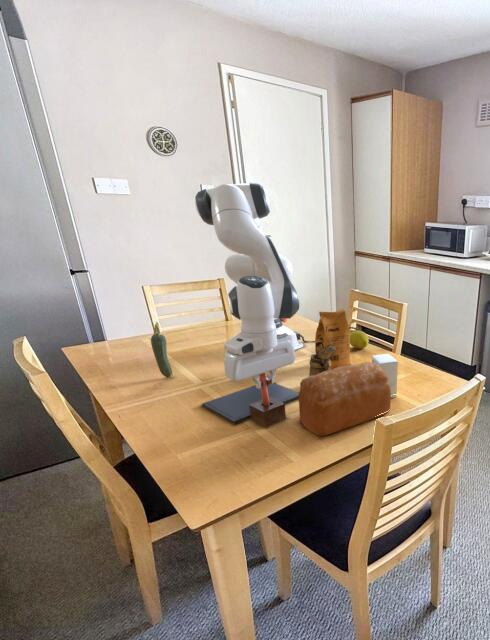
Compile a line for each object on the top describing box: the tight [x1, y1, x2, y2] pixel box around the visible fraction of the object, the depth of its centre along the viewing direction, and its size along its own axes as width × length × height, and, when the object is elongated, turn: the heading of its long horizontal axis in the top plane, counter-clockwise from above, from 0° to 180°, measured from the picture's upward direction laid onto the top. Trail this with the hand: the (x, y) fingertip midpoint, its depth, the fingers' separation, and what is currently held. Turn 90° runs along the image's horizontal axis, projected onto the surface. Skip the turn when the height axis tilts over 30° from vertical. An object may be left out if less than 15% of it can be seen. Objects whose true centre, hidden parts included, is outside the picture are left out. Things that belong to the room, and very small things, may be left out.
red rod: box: [258, 372, 270, 407], centre depth 116 cm, size 2×2×14 cm
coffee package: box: [314, 308, 351, 370], centre depth 157 cm, size 10×12×22 cm
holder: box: [249, 397, 287, 429], centre depth 118 cm, size 7×7×5 cm
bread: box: [298, 361, 391, 437], centre depth 120 cm, size 14×26×16 cm, turn 133°
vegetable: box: [150, 321, 174, 379], centre depth 137 cm, size 4×4×20 cm
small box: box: [371, 353, 399, 399], centre depth 137 cm, size 8×6×13 cm
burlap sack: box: [308, 345, 336, 377], centre depth 137 cm, size 9×14×18 cm, turn 35°
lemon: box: [349, 330, 370, 350], centre depth 180 cm, size 11×8×8 cm
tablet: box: [201, 381, 299, 425], centre depth 129 cm, size 24×17×1 cm
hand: (264, 386), depth 115 cm, fingers closed on red rod, 2 cm apart
